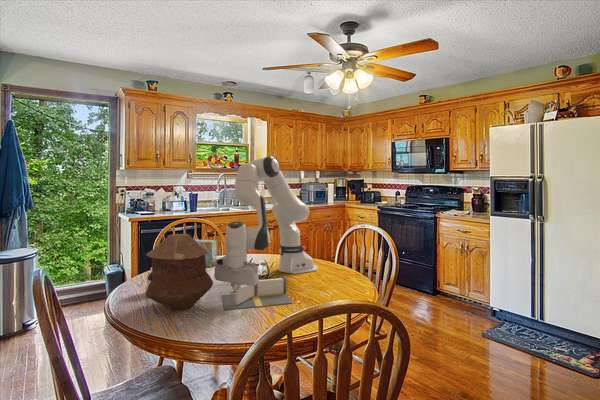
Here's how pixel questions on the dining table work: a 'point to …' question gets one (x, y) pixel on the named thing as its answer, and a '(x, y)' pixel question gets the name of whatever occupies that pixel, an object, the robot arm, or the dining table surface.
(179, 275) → the pottery vessel
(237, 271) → the robot arm
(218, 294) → the dining table surface
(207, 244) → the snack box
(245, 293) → the hinged panel
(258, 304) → the card
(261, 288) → the block
